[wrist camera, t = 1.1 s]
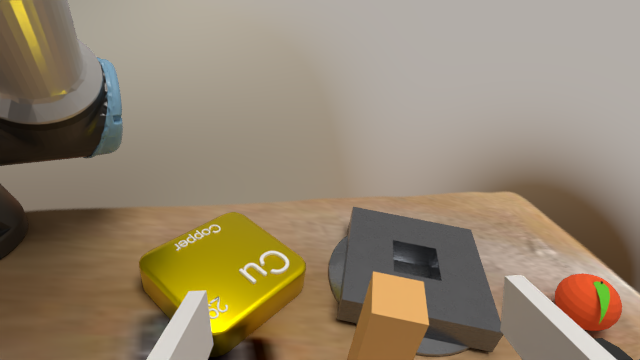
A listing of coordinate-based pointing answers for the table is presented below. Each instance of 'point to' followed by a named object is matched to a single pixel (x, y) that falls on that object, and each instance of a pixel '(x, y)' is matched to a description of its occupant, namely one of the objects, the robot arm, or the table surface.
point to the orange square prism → (390, 319)
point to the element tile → (225, 276)
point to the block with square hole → (419, 277)
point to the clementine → (589, 301)
